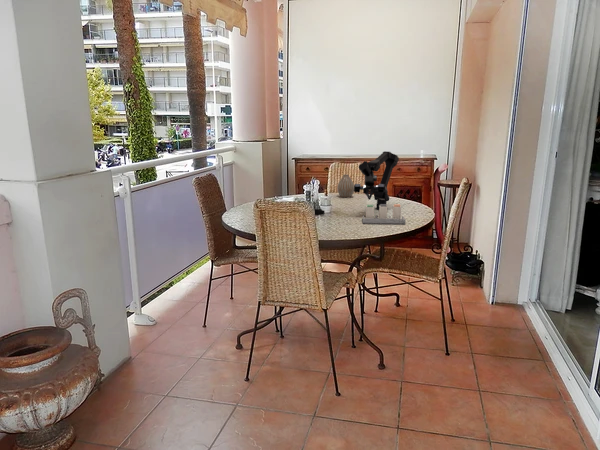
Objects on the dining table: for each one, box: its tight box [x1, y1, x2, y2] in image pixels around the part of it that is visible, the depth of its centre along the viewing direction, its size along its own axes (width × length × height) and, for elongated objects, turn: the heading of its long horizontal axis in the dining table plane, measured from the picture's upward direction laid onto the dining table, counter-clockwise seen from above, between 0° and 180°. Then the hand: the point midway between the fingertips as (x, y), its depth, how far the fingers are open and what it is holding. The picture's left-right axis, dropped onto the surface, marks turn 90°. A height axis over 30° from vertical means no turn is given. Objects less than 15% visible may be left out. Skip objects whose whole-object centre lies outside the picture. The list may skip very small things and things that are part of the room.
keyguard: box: [362, 215, 407, 224], centre depth 259 cm, size 10×24×2 cm, turn 83°
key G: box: [365, 204, 375, 218], centre depth 260 cm, size 4×4×9 cm
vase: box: [336, 174, 355, 198], centre depth 341 cm, size 13×13×18 cm
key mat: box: [361, 217, 406, 226], centre depth 260 cm, size 12×24×1 cm, turn 83°
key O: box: [391, 203, 402, 219], centre depth 260 cm, size 4×4×9 cm
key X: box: [378, 204, 388, 218], centre depth 261 cm, size 4×4×9 cm
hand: (369, 199), depth 267 cm, fingers closed
